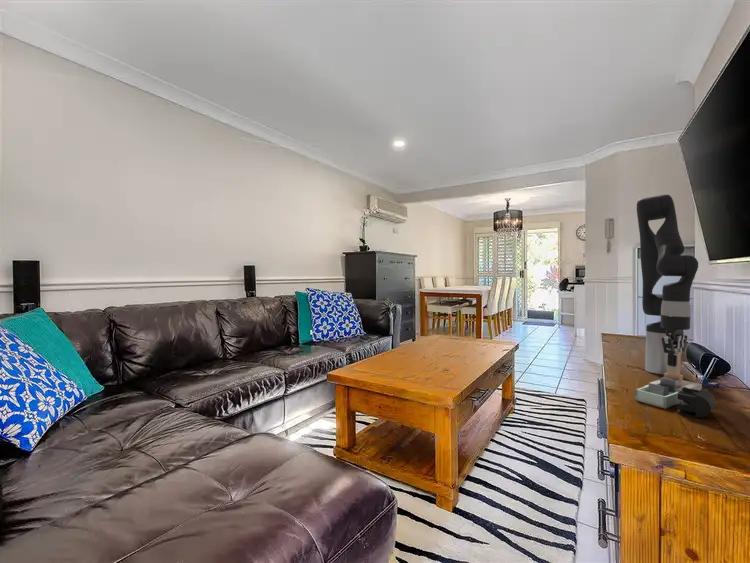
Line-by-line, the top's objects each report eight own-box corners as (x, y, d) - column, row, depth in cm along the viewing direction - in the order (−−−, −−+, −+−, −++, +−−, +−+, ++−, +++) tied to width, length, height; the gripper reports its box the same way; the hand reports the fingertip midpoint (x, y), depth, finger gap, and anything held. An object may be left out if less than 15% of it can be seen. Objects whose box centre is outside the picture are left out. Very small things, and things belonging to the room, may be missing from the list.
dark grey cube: (654, 384, 113) (649, 383, 112) (669, 387, 110) (664, 386, 108) (653, 396, 113) (647, 395, 111) (667, 400, 110) (662, 399, 108)
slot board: (663, 386, 125) (663, 376, 125) (707, 397, 114) (707, 385, 114) (643, 393, 117) (643, 381, 117) (688, 404, 107) (688, 392, 107)
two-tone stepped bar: (667, 383, 118) (669, 349, 117) (682, 387, 114) (684, 351, 114) (663, 385, 116) (665, 350, 116) (678, 388, 113) (680, 352, 112)
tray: (650, 395, 116) (650, 384, 116) (680, 402, 109) (680, 391, 109) (635, 400, 111) (635, 389, 110) (665, 408, 104) (665, 397, 104)
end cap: (710, 422, 94) (711, 398, 94) (676, 414, 100) (677, 391, 100) (715, 413, 100) (716, 391, 100) (683, 406, 106) (683, 384, 106)
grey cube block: (665, 387, 116) (665, 376, 116) (680, 391, 112) (680, 379, 112) (659, 389, 114) (660, 377, 114) (675, 393, 110) (675, 381, 110)
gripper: (670, 312, 121) (669, 360, 122) (652, 314, 115) (650, 365, 115) (698, 314, 115) (696, 365, 115) (680, 316, 108) (679, 370, 108)
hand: (673, 365), depth 115 cm, fingers closed on two-tone stepped bar, 2 cm apart
